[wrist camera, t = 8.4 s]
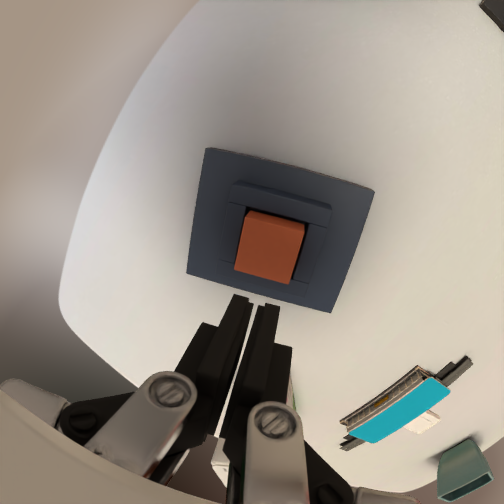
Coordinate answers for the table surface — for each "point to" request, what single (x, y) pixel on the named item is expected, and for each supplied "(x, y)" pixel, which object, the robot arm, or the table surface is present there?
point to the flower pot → (462, 471)
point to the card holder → (402, 405)
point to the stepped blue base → (283, 206)
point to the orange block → (269, 246)
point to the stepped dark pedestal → (494, 11)
